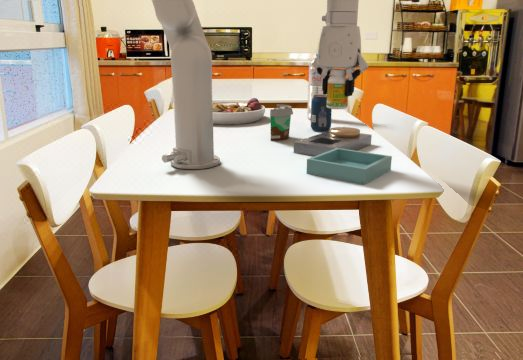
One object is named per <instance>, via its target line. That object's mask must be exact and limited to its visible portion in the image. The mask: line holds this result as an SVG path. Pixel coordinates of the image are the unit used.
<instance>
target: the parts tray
mask: <svg viewBox="0 0 523 360" xmlns="http://www.w3.org/2000/svg"><path fill="white" fill-rule="evenodd" d="M392 158H393V156H392V155H386V154H379V153H375V152H373V153H372V152H367V151H366V152H365V151H360V150H356V151H354V150H348V149H341V148H335V149H332V150H330V151H327V152H325V153H322V154H319V155H317V156H312V157H309V158H307V159H306V174H308V175H314V176H319V177H323V178H324V177H325V178H329V179H335V180H339V181H345V182H348V183H349V182H350V183H353V184H354V183H355V184H359V185H366V184H368V183H370V182H372V181H373V180H375V179H377V178H379V177H381V176H383V175H384V174H386V173H387V172H390V171H392V170H391V169H392Z"/></svg>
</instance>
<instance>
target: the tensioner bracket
mask: <svg viewBox="0 0 523 360" xmlns="http://www.w3.org/2000/svg"><path fill="white" fill-rule="evenodd" d="M372 136H373V135H372V134H369V133H361V130H360V129H359V128H357V127H349V126H348V127H347V126H336V127H331V128H330V129H329V131H327V132H322V133H321V132H320V133H318V134H316V135H312V136H309V137H306V138H303V139H299V140H296V141H294V142H293V153H295V154H300V155H308V156H312V157H314V156H317V155H319V154H322V153H325V152H327V151H330V150H332V149H335V148H341V149H348V150H354V151H360V150H361V149H364V148H365V147H368V146H371V145H372Z"/></svg>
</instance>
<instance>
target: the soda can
mask: <svg viewBox="0 0 523 360" xmlns="http://www.w3.org/2000/svg"><path fill="white" fill-rule="evenodd" d="M332 110H333V109H330V108H327V94H326V95H314V97H313V99H312V104H311V120H310V129H311V130H312V131H313V132H319V133H321V132H322V133H325V132H328V131H330V129H331V128H332V112H333V111H332Z"/></svg>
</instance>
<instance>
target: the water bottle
mask: <svg viewBox="0 0 523 360" xmlns="http://www.w3.org/2000/svg"><path fill="white" fill-rule="evenodd" d="M317 56H318V52H317V53H315V58H313V59H312V60H311V61H310V62H309V64H308V84H307V85H308V86H307V92H308V93H307V114H306V115H307V116H306V117H307V120H309V121H311V104H312V99H313V97H314V95H325V94H323V90H322V83H323V78H321V75H320V74H319V73H318V72H317V70H316V69H315V68H314V67H313V65H312V62H313V61H314V60H315V59H316V58H317ZM323 68H324V67H323Z"/></svg>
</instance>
